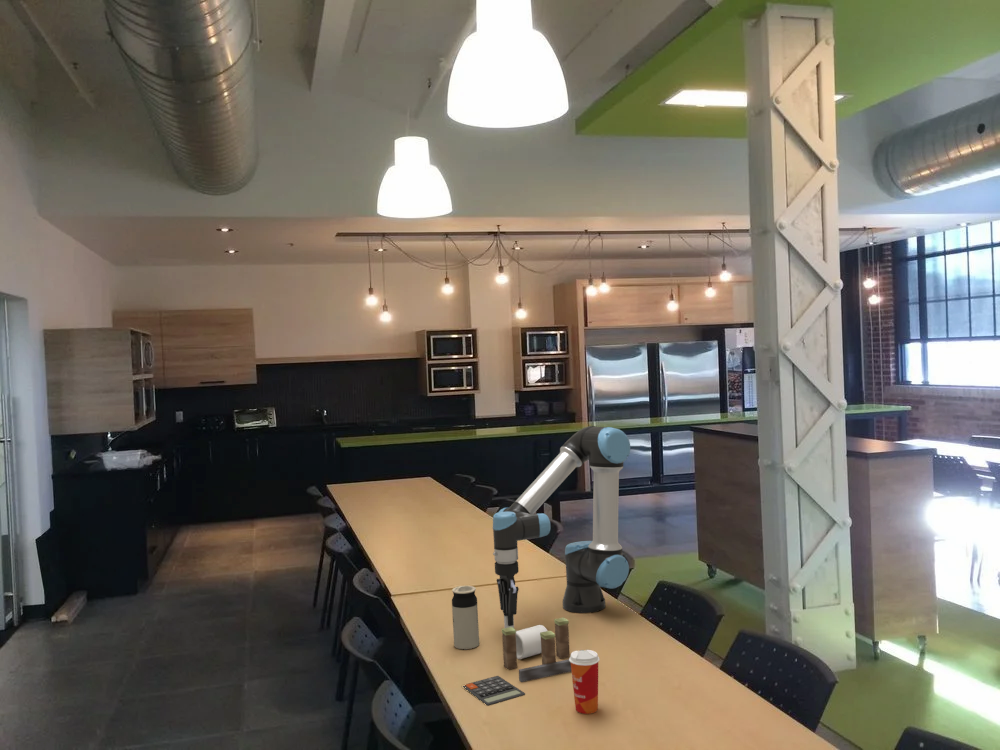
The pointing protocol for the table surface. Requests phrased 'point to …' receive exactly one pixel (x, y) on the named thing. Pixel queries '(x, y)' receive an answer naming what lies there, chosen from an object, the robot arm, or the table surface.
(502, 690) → the calculator
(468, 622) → the travel mug
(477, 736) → the table surface
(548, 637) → the header dock
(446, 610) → the table surface
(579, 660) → the paper cup
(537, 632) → the mug
